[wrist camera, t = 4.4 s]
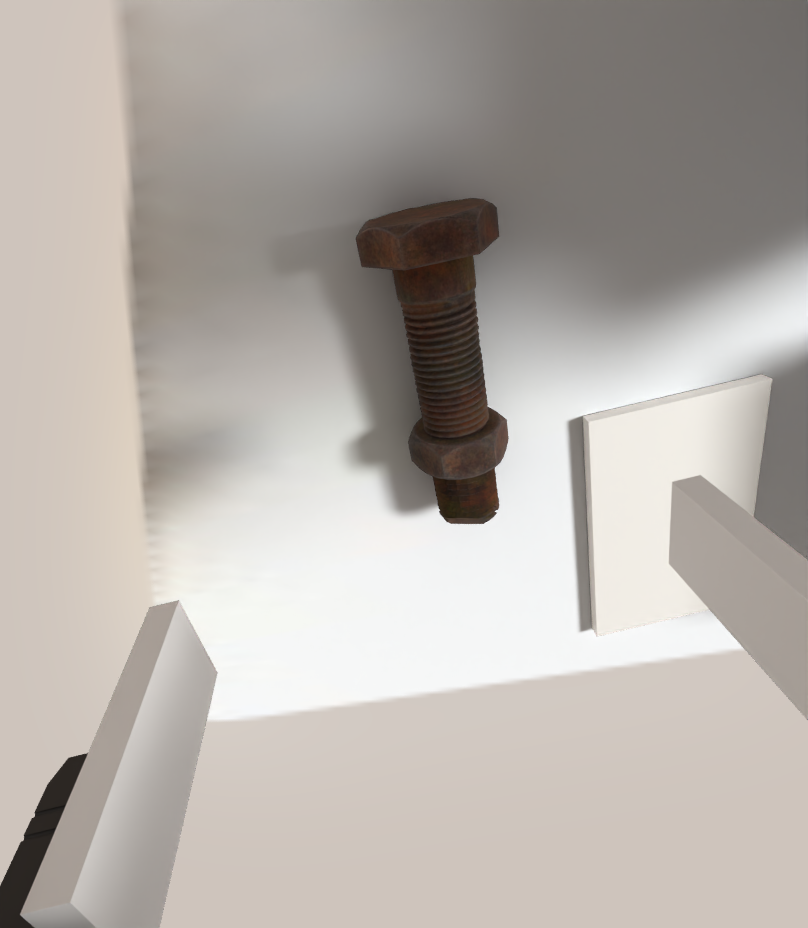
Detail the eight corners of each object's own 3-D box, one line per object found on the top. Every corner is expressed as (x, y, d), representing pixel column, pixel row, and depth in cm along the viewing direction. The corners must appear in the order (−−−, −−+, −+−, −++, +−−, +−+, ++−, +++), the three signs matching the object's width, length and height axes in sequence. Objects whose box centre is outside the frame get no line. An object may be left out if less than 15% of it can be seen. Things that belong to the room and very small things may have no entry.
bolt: (442, 479, 32) (395, 207, 25) (527, 485, 30) (504, 190, 23) (406, 542, 28) (335, 235, 20) (502, 554, 26) (464, 217, 18)
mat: (582, 415, 29) (588, 421, 29) (761, 374, 29) (772, 379, 29) (591, 627, 37) (597, 636, 36) (734, 593, 37) (742, 602, 36)
